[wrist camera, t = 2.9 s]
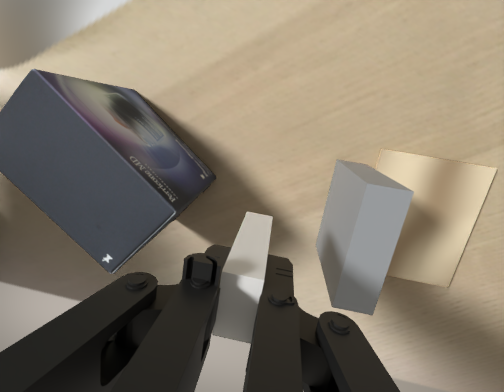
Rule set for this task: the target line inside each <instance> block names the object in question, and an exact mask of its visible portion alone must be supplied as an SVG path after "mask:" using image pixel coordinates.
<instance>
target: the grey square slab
mask: <svg viewBox="0 0 504 392" xmlns="http://www.w3.org/2000/svg"><path fill="white" fill-rule="evenodd" d="M413 194H414V191H412V190H410V189H408V188H407V187H405V186H403V185H401V184H400V183H398V182H396V181H394V180H393V179H391V178H389V177H387V176H386V175H384V174H382V173H380V172H379V171H377V170H375V169H373V168H372V167H370V166H368V165H366V164H361V163H355V162H349V161H343V160H338V159H337V161H336V165H335V169H334V173H333V177H332V181H331V185H330V189H329V193H328V197H327V201H326V205H325V209H324V213H323V217H322V222H321V226H320V230H319V234H318V238H317V242H316V247H317V251H318V255H319V259H320V262H321V266H322V270H323V274H324V278H325V282H326V286H327V289H328V293H329V297H330V301H331V305H332V307H334V308H339V309H344V310H349V311H354V312H359V313H364V314H369V315H373V313H374V310H375V307H376V304H377V301H378V298H379V295H380V292H381V289H382V286H383V283H384V280H385V277H386V274H387V271H388V268H389V265H390V262H391V259H392V256H393V253H394V250H395V247H396V244H397V241H398V238H399V235H400V232H401V229H402V226H403V223H404V220H405V217H406V215H407V212H408V209H409V206H410V203H411V200H412V197H413Z"/></svg>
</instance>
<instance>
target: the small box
mask: <svg viewBox="0 0 504 392" xmlns="http://www.w3.org/2000/svg"><path fill="white" fill-rule="evenodd" d="M0 172H1V173H2V174H4V175H5V176H6V177H7V178H8V179H9V180H10V181H11V182H12V183H13V184H14V185H15V186H16V187H18V188H19V189H20V190H21V191H22V192H23V193H24V194H25V195H26V196H27V197H28V198H29V199H30V200H31V201H33V202H34V203H35V204H36V205H37V206H38V207H39V208H40V209H41V210H42V211H43V212H44V213H45V214H46V215H47V216H49V217H50V218H51V219H52V220H53V221H54V222H55V223H56V224H57V225H58V226H59V227H60V228H61V229H63V230H64V231H65V232H66V233H67V234H68V235H69V236H70V237H71V238H72V239H73V240H74V241H75V242H77V243H78V244H79V245H80V246H81V247H82V248H83V249H84V250H85V251H86V252H87V253H88V254H89V255H91V256H92V257H93V258H94V259H95V260H96V261H97V262H98V263H99V264H100V265H101V266H102V267H103V268H104V269H106V270H107V271H108V272H109V273H111V274H113V273H115V272H116V271H117V270H118V269H119V268H120V267H121V266H122V265H123V264H125V263H126V262H127V261H128V260H129V259H130V258H131V257H132V256H134V255H135V254H136V253H137V252H138V251H139V250H140V249H142V248H143V247H144V246H145V245H146V244H147V243H148V242H150V241H151V240H152V239H153V238H154V237H155V236H156V235H157V234H158V233H160V232H161V231H162V230H163V229H164V228H165V227H166V226H167V225H168V224H169V223H171V222H172V221H174V220H175V219H176V217H178V216H179V215H180V213H181V212H182V211H184V210H185V209H186V208H187V206H188V205H189V204H191V203H192V202H193V201H194V200H195V199H196V198H197V197H198V196H199V195H200V194H201V193H202V192H204V191H205V190H206V189H207V188H208V187H209V186H210V185H211V183H212V182H213V181H214V180H215V179H216V176H215V175H214V174H213V173H212V172H211V171H210V170H209V168H208V167H207V166H206V165H205V164H204V163H203V162H202V161H201V160H200V159H199V158H198V157H197V156H196V155H195V154H194V153H193V152H192V150H191V149H190V148H189V147H188V146H187V145H186V144H185V143H184V142H183V141H182V140H181V139H180V138H179V137H178V136H177V135H176V134H175V132H174V131H173V130H172V129H171V128H170V127H169V126H168V125H167V124H166V123H165V122H164V121H163V120H162V119H161V118H160V117H159V116H158V114H157V113H156V112H155V111H154V110H153V109H152V108H151V107H150V106H149V105H148V104H147V103H146V102H145V101H144V100H143V99H142V98H141V96H140V95H139V94H138V93H137V92H136V91H135V90H133V89H128V88H123V87H118V86H113V85H108V84H103V83H98V82H93V81H88V80H83V79H79V78H74V77H69V76H64V75H60V74H55V73H50V72H46V71H41V70H36V69H32V70H31V71H30V72H29V74H28V75H27V76H26V77H25V78H24V80H23V81H22V82H21V84H20V85H19V87H18V88H17V89H16V90H15V92H14V94H13V95H12V96H11V97H10V99H9V101H8V102H7V103H6V104H5V106H4V107H3V109H2V110H1V112H0Z"/></svg>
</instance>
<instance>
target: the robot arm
mask: <svg viewBox="0 0 504 392" xmlns="http://www.w3.org/2000/svg"><path fill="white" fill-rule="evenodd" d="M272 220H273V216H268V215H263V214H258V213H252V212H247V213H246V215H245V217H244V220H243V222H242V225H241V227H240V229H239V232H238V234H237V236H236V239H235V241H234V244H233V246H232V248H229V247H224V246H219V245H215V244H214V245H213V246H211V247H209V248H207V250H206V252H205V253H196V254H191V255H188V256H187V257H186V258H184V266H183V275H182V280H181V282H180V283H179V284H176V285H157V283H158V281H157V279H156V277H154V276H153V275H151V274H148V273H144V272H135V273H130V274H127V275H125V276H122V277H121V278H119V279H117V280H116V281H114V282H113V283H111V284H109V285H108V286H106V287H105V288H103V289H101V290H100V291H98V292H96V293H95V294H93V295H92V296H90V297H88V298H87V299H85V300H84V301H82V302H80V303H79V304H77V305H76V306H74V307H73V308H71V309H69V310H68V311H66V312H64V313H63V314H62V315H59V316H58V317H56V318H55V319H53V320H51V321H50V322H48V323H47V324H45V325H43V326H42V327H40V328H39V329H37V330H35V331H34V332H32V333H31V334H29V335H27V336H26V337H24V338H23V339H21V340H19V341H18V342H16V343H15V344H13V345H11V346H10V347H8V348H6V349H5V350H3V351H2V352H0V392H194V390H195V388H196V385H197V382H198V378H199V376H200V372H201V370H202V366H203V364H204V361H205V358H206V355H207V351H208V349H209V345H210V338H211V333H212V330H213V335H215V336H220V337H224V338H229V339H233V340H238V341H242V342H246V343H251V347H250V352H249V357H248V362H247V368H246V376H245V382H244V388H243V392H303V391H304V392H400V391H399V389H398V387H397V386H396V384H395V383H394V381H393V380H392V378H391V377H390V375H389V373H388V372H387V370H386V369H385V367H384V366H383V364H382V363H381V361H380V359H379V358H378V356H377V355H376V353H375V352H374V350H373V349H372V347H371V345H370V344H369V342H368V341H367V339H366V338H365V336H364V334H363V333H362V331H361V330H360V328H359V327H358V325H357V324H356V323H355V322H354V321H353V320H352V319H350V318H349V317H347V316H345V315H343V314H341V313H338V312H332V311H330V312H324V313H322V314H321V315H320V317H319V318H317V317H314V316H312V315H310V314H308V313H306V312H305V311H303V310H302V309H301V308H300V307H299V306H298V302H297V299H296V298H295V297H294V286H293V265H292V263H291V262H290V261H289V259H288V258H283V257H278V256H273V255H268V249H269V242H270V234H271V227H272ZM213 327H214V328H213Z"/></svg>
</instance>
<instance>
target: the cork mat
mask: <svg viewBox="0 0 504 392" xmlns="http://www.w3.org/2000/svg"><path fill="white" fill-rule="evenodd" d="M375 170H377V171H379V172H380V173H382V174H384V175H386V176H387V177H389V178H391V179H393V180H394V181H396V182H398V183H400V184H401V185H403V186H405V187H407V188H408V189H410V190H412V191H414V194H413V197H412V200H411V203H410V206H409V209H408V212H407V215H406V217H405V220H404V223H403V226H402V229H401V232H400V235H399V238H398V241H397V244H396V247H395V250H394V253H393V256H392V259H391V262H390V265H389V268H388V271H387V274H386V276H391V277H397V278H402V279H407V280H412V281H417V282H422V283H428V284H433V285H438V286H443V287H449V284H450V282H451V279H452V277H453V274H454V272H455V270H456V267H457V265H458V262H459V260H460V257H461V255H462V253H463V250H464V248H465V245H466V243H467V241H468V238H469V236H470V233H471V231H472V228H473V226H474V224H475V221H476V219H477V216H478V214H479V211H480V209H481V207H482V204H483V202H484V199H485V197H486V195H487V192H488V190H489V187H490V185H491V182H492V180H493V178H494V175H495V173H496V170H497V168H493V167H487V166H481V165H476V164H470V163H464V162H458V161H452V160H446V159H440V158H434V157H429V156H423V155H417V154H411V153H405V152H399V151H393V150H387V149H382V148H381V150H380V153H379V157H378V160H377V164H376V167H375Z"/></svg>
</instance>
